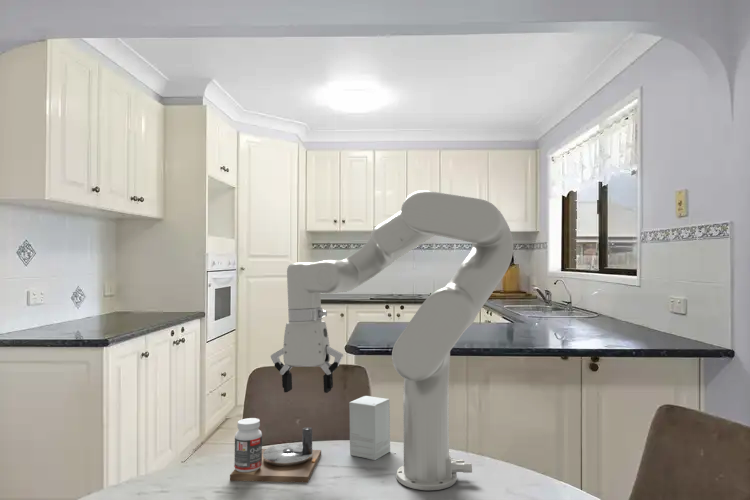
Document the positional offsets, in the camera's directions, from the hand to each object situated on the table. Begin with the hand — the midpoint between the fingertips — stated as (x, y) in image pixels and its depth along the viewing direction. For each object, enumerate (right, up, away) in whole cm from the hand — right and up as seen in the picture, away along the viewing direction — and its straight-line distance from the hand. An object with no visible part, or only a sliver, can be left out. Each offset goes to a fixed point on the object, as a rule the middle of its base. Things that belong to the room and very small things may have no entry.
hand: (307, 391), depth 115 cm
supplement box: (+14, -17, +5) cm, 23 cm away
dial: (-4, -14, -1) cm, 15 cm away
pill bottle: (-12, -15, -7) cm, 20 cm away
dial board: (-6, -16, -3) cm, 18 cm away
